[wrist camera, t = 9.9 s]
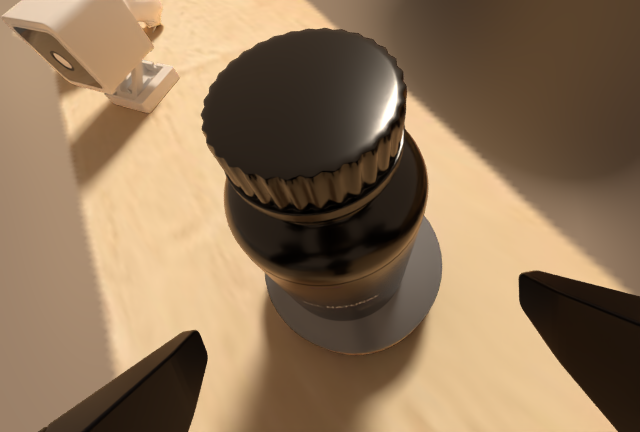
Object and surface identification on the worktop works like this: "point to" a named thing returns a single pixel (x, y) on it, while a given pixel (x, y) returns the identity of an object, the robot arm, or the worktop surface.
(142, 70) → the security camera
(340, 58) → the supplement bottle
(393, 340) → the stand
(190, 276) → the worktop surface
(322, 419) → the worktop surface
